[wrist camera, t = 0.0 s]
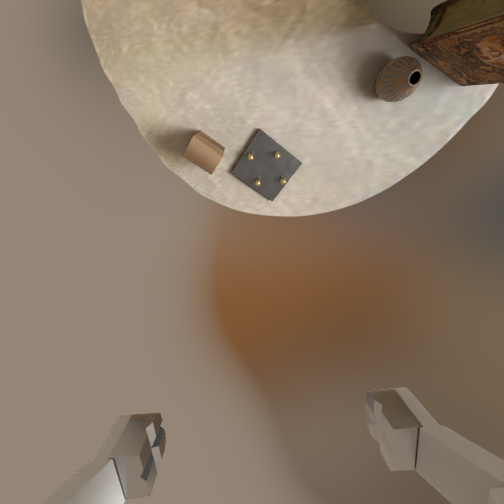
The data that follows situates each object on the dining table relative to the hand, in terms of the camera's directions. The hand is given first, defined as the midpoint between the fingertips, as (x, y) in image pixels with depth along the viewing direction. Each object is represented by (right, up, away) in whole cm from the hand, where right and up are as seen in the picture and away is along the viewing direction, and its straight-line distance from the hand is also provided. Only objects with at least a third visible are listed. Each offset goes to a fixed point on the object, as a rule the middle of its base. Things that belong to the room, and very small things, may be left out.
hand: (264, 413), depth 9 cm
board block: (-10, +29, +42) cm, 53 cm away
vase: (+27, +41, +38) cm, 62 cm away
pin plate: (+3, +26, +45) cm, 52 cm away
